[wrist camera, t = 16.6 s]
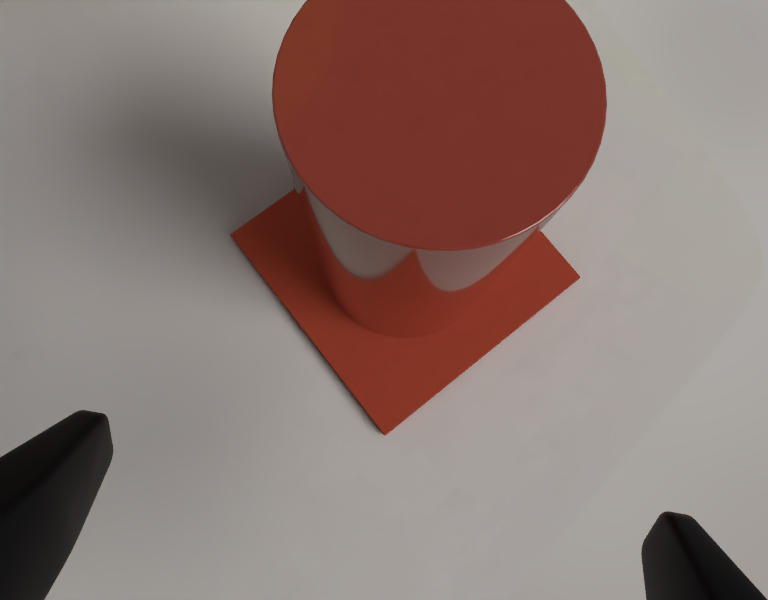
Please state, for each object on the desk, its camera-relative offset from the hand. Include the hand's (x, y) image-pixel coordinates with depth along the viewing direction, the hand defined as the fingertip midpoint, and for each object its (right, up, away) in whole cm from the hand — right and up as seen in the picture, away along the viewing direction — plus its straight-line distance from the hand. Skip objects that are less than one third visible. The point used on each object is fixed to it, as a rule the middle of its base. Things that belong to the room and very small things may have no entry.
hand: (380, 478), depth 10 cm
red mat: (+1, +4, +12) cm, 13 cm away
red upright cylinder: (+1, +5, +12) cm, 13 cm away
